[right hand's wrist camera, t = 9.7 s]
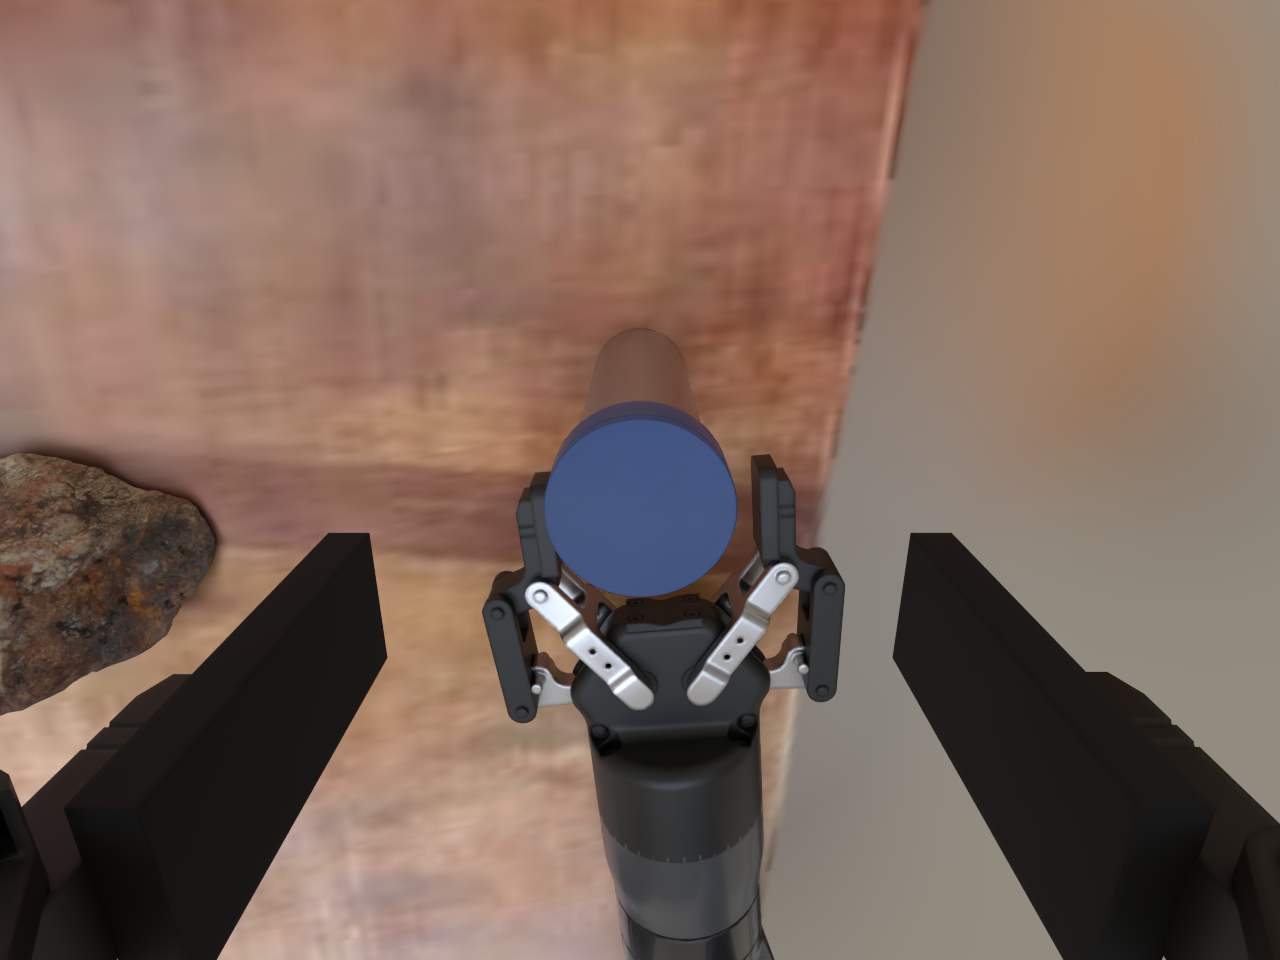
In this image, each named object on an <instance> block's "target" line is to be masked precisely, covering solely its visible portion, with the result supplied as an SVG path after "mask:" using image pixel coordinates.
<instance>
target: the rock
mask: <svg viewBox="0 0 1280 960" xmlns="http://www.w3.org/2000/svg"><path fill="white" fill-rule="evenodd" d="M214 550H215V539H214V536H213V534H212V532H211V530H210V528H209V526H208V524H207V523H206V521H205V519H204V518H203V517H202V516H201V515H200V513H199V511H198V509H197V508H196V507H195V506H194V505H193V504H192V503H191V502H190V501H188V500H186V499H184V498H180V497H175V496H172V495H168V494H165V493H162V492H160V491H156V490H150V491H146V490H143V489H141V488H135V487H133V486H131V485H130V484H128V483H126V482H124V481H122V480H120V479H118V478H116V477H114V476H111V475H109V474H106V473H104V471H103V469H100V468H96V467H89V466H86V465H82V464H76V463H72V462H71V461H67V460H64V459H61V458H58V457H47V456H41V455H37V454H32V453H29V454H25V453H20V452H17V453H14V454H12V455H10V456H7V457H5V458H2V459H0V716H1V715H3V714H6V713H9V712H15V711H21V710H24V709H26V708H28V707H30V706H31V705H33V704H35V703H38V702H40V701H42V700H44V699H46V698H49V697H51V696H53V695H55V694H57V693H59V692H61V691H63V690H64V689H66V688H67V687H68V686H69V685H71V684H72V683H73V682H75V681H76V680H78V679H79V678H81V677H83V676H86V675H88V674H89V673H91V672H92V671H93V672H97V671H100V670H102V669H104V668H106V667H108V666H110V665H114V664H117V663H120V662H123V661H126V660H128V659H131V658H133V657H135V656H137V655H139V654H141V653H143V652H144V651H146V650H148V649H149V648H151V647H152V646H154V645H155V644H156V643H157V642H158V641H159V640H161V639H162V638H163V637H165V636H166V635H167V634H168V632H169V630H170V628H171V626H172V621H173V618H174V617H175V616H176V615H177V613H178V611H179V610H180V608H181V603H182V602H183V601H185V600H186V599H187V598H188V597H190V596H191V595H192V594H193V593H194V592H195V591H196V589H197V588H198V586H199V584H200V582H201V581H202V579H203V577H204V575H205V573H206V571H207V570H208V568H209V566H210V564H211V562H212V560H213V558H214Z"/></svg>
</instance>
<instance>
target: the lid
mask: <svg viewBox="0 0 1280 960" xmlns="http://www.w3.org/2000/svg"><path fill="white" fill-rule="evenodd" d="M544 519H545V525H546V529H547V532H548V535H549V538H550V540H551V543H552V545H553V547H554V549H555V550H556V552H557V553H558V555H559V556H560V558H561V559H562V560H563V562H564V563H565V564H566V565H567V566H568V567H569V568H570V569H571V570H572V571H573V572H574V573H575V574H576V575H577V576H579V577H580V578H582V579H583V580H585V581H586V582H587V583H589V584H591V585H593V586H595V587H597V588H599V589H602V590H604V591H607V592H610V593H614V594H618V595H623V596H630V597H650V596H658V595H663V594H667V593H671V592H674V591H677V590H679V589H682V588H684V587H686V586H688V585H690V584H692V583H693V582H695V581H696V580H698V579H699V578H701V577H702V576H703V575H704V574H706V573H707V572H708V571H709V570H710V569H711V568H712V567H713V566H714V565H715V564H716V563H717V562H718V560H719V559H720V558H721V556H722V555H723V553H724V552H725V550H726V548H727V546H728V545H729V543H730V540H731V538H732V535H733V532H734V529H735V524H736V520H737V496H736V491H735V486H734V483H733V480H732V477H731V474H730V471H729V468H728V465H727V462H726V460H725V457H724V454H723V452H722V450H721V448H720V446H719V444H718V442H717V441H716V440H715V438H714V437H713V435H712V434H711V433H710V432H709V431H708V430H707V429H706V427H705V426H704V425H703V424H701V423H700V422H699V421H698V420H696V419H695V418H694V417H692V416H691V415H689V414H687V413H686V412H684V411H682V410H679V409H677V408H675V407H672V406H669V405H666V404H662V403H657V402H650V401H632V402H623V403H619V404H615V405H611V406H609V407H606V408H604V409H601V410H599V411H597V412H595V413H594V414H592V415H590V416H589V417H587V418H586V419H585V420H583V421H582V422H581V423H580V424H579V425H577V426H576V427H575V428H574V429H573V430H572V432H571V433H570V434H569V435H568V437H567V438H566V439H565V441H564V442H563V444H562V446H561V447H560V449H559V452H558V454H557V457H556V459H555V462H554V465H553V468H552V471H551V474H550V477H549V479H548V483H547V487H546V490H545V497H544Z"/></svg>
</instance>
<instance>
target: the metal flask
mask: <svg viewBox="0 0 1280 960" xmlns="http://www.w3.org/2000/svg"><path fill="white" fill-rule="evenodd" d="M632 401H650V402H657V403H662V404H666V405H669V406H672V407H675V408H677V409H679V410H682V411H684V412H686V413H687V414H689V415H691V416H692V417H694V418H695V419H696V420H698V421H699V422H700V419H699V415H698V412H697V409H696V405H695V402H694V398H693V395H692V391H691V388H690V384H689V381H688V377H687V374H686V370H685V367H684V363H683V360H682V357H681V354H680V353H679V351H678V349H677V348H676V346H675V345H674V344H673V343H672V342H671V341H670V340H669V339H668V338H667V337H665V336H664V335H662V334H660V333H658V332H656V331H652V330H648V329H632V330H628V331H625V332H623V333H620V334H619V335H617V336H615V337H614V338H613V339H611V340H610V341H609V342H608V343H607V344H606V346H605V347H604V348H603V350H602V352H601V353H600V356H599V358H598V361H597V365H596V368H595V372H594V376H593V379H592V383H591V386H590V390H589V393H588V397H587V400H586V404H585V407H584V411H583V415H582V418H581V422H582V421H583V420H585V419H586V418H587V417H589V416H590V415H592V414H594V413H595V412H597V411H599V410H601V409H604V408H606V407H609V406H611V405H615V404H619V403H623V402H632ZM581 422H580V423H581ZM700 423H701V422H700Z"/></svg>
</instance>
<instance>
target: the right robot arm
mask: <svg viewBox="0 0 1280 960" xmlns="http://www.w3.org/2000/svg"><path fill="white" fill-rule="evenodd" d="M386 659H387V652H386V645H385V638H384V631H383V624H382V617H381V610H380V603H379V596H378V590H377V583H376V576H375V569H374V562H373V555H372V548H371V541H370V534H369V533H328V534H327V535H326V536H325V537H324V538H323V539H322V540H321V541H320V542H319V543H318V544H317V545H316V546H315V547H314V548H313V550H312V551H311V552H310V553H309V554H308V555H307V556H306V557H305V558H304V559H303V560H302V561H301V562H300V563H299V564H298V565H297V566H296V567H295V568H294V569H293V570H292V571H291V572H290V573H289V574H288V575H287V576H286V577H285V578H284V580H283V581H282V582H281V583H280V584H279V585H278V586H277V587H276V588H275V589H274V590H273V591H272V592H271V593H270V594H269V595H268V596H267V597H266V598H265V599H264V600H263V601H262V602H261V603H260V604H259V605H258V606H257V607H256V608H255V610H254V611H253V612H252V613H251V614H250V615H249V616H248V617H247V618H246V619H245V620H244V621H243V622H242V623H241V624H240V625H239V626H238V627H237V628H236V629H235V630H234V631H233V632H232V633H231V634H230V635H229V636H228V637H227V638H226V639H225V641H224V642H223V643H222V644H221V645H220V646H219V647H218V648H217V649H216V650H215V651H214V652H213V653H212V654H211V655H210V656H209V657H208V658H207V659H206V660H205V661H204V662H203V663H202V664H201V665H200V666H199V667H198V668H197V669H196V671H195V672H194V673H193V674H173V675H171V676H170V677H168V678H166V679H165V680H163V681H161V682H160V683H158V684H156V685H155V686H153V687H151V688H150V689H148V690H146V691H145V692H143V693H141V694H140V695H138V696H136V697H135V698H134V699H133V700H132V701H131V702H130V703H129V704H128V705H127V706H126V707H125V708H124V709H123V710H122V711H121V712H120V713H119V714H118V715H117V716H116V717H115V718H114V719H113V720H111V721H110V725H109V727H104V728H103V729H102V730H101V731H100V732H99V733H98V734H97V735H96V736H95V737H94V738H93V739H92V740H91V741H90V742H89V743H88V744H87V748H86V750H80V751H79V752H78V753H77V754H76V755H75V756H74V757H73V758H72V759H71V760H70V761H69V762H68V763H67V764H66V765H65V766H64V767H63V768H62V769H61V770H60V771H59V772H58V773H57V774H55V775H54V776H53V777H52V778H51V779H50V780H49V781H48V782H47V783H46V784H45V785H44V786H43V787H42V788H41V789H40V790H39V791H38V792H37V793H36V794H35V795H34V796H33V797H32V798H31V799H30V800H29V801H27V802H26V803H25V804H24V805H23V806H22V807H21V805H20V802H19V800H18V797H17V794H16V792H15V789H14V787H13V784H12V782H11V779H10V776H9V774H7V773H5V772H4V771H2V770H0V960H117V958H118V960H217V958H218V956H219V955H220V953H221V951H222V949H223V948H224V946H225V944H226V942H227V940H228V939H229V937H230V935H231V933H232V932H233V930H234V928H235V926H236V925H237V923H238V921H239V919H240V917H241V916H242V914H243V912H244V910H245V909H246V907H247V905H248V903H249V902H250V900H251V898H252V896H253V894H254V893H255V891H256V889H257V887H258V886H259V884H260V882H261V880H262V879H263V877H264V875H265V873H266V871H267V870H268V868H269V866H270V864H271V863H272V861H273V859H274V857H275V856H276V854H277V852H278V850H279V848H280V847H281V845H282V843H283V841H284V840H285V838H286V836H287V834H288V833H289V831H290V829H291V827H292V825H293V824H294V822H295V820H296V818H297V817H298V815H299V813H300V811H301V810H302V808H303V806H304V804H305V802H306V801H307V799H308V797H309V795H310V794H311V792H312V790H313V788H314V787H315V785H316V783H317V781H318V779H319V778H320V776H321V774H322V772H323V771H324V769H325V767H326V765H327V764H328V762H329V760H330V758H331V757H332V755H333V753H334V751H335V749H336V748H337V746H338V744H339V742H340V741H341V739H342V737H343V735H344V734H345V732H346V730H347V728H348V726H349V725H350V723H351V721H352V719H353V718H354V716H355V714H356V712H357V711H358V709H359V707H360V705H361V703H362V702H363V700H364V698H365V696H366V695H367V693H368V691H369V689H370V688H371V686H372V684H373V682H374V680H375V679H376V677H377V675H378V673H379V672H380V670H381V668H382V666H383V665H384V663H385V661H386ZM893 659H894V661H895V663H896V664H897V666H898V668H899V670H900V672H901V673H902V675H903V677H904V679H905V680H906V682H907V684H908V686H909V687H910V689H911V691H912V693H913V695H914V696H915V698H916V700H917V702H918V703H919V705H920V707H921V709H922V711H923V712H924V714H925V716H926V718H927V719H928V721H929V723H930V725H931V726H932V728H933V730H934V732H935V733H936V735H937V737H938V739H939V741H940V742H941V744H942V746H943V748H944V749H945V751H946V753H947V755H948V757H949V758H950V760H951V762H952V764H953V765H954V767H955V769H956V771H957V772H958V774H959V776H960V778H961V779H962V781H963V783H964V785H965V787H966V788H967V790H968V792H969V794H970V795H971V797H972V799H973V801H974V802H975V804H976V806H977V808H978V810H979V811H980V813H981V815H982V816H983V818H984V820H985V822H986V824H987V825H988V827H989V829H990V831H991V833H992V834H993V836H994V838H995V840H996V841H997V843H998V845H999V847H1000V848H1001V850H1002V852H1003V854H1004V856H1005V857H1006V859H1007V861H1008V863H1009V864H1010V866H1011V868H1012V870H1013V871H1014V873H1015V875H1016V877H1017V879H1018V880H1019V882H1020V884H1021V886H1022V887H1023V889H1024V891H1025V893H1026V894H1027V896H1028V898H1029V900H1030V901H1031V903H1032V905H1033V907H1034V909H1035V910H1036V912H1037V914H1038V916H1039V917H1040V919H1041V921H1042V923H1043V925H1044V926H1045V928H1046V930H1047V932H1048V933H1049V935H1050V937H1051V939H1052V940H1053V942H1054V944H1055V946H1056V947H1057V949H1058V951H1059V953H1060V955H1061V956H1062V958H1063V960H1162V958H1163V956H1164V957H1165V959H1166V960H1280V824H1279V823H1278V822H1277V821H1276V820H1275V819H1274V818H1273V817H1272V816H1271V815H1270V814H1269V813H1268V812H1267V811H1266V810H1265V809H1264V808H1263V807H1262V806H1261V805H1260V804H1259V803H1258V802H1256V801H1255V800H1254V799H1253V798H1252V797H1251V796H1250V795H1249V794H1248V793H1247V792H1246V791H1245V790H1244V789H1243V788H1242V787H1241V786H1240V785H1239V784H1238V783H1237V782H1236V781H1235V780H1233V779H1232V778H1231V777H1230V776H1229V775H1228V774H1227V773H1226V772H1225V771H1224V770H1223V769H1222V768H1221V767H1220V766H1219V765H1218V764H1217V763H1216V762H1215V761H1214V760H1213V759H1212V758H1211V757H1210V756H1208V755H1207V754H1206V753H1205V752H1204V751H1203V750H1202V749H1201V748H1200V747H1195V746H1194V741H1193V740H1192V739H1191V738H1190V737H1189V736H1188V735H1187V734H1186V733H1184V732H1183V731H1182V730H1181V729H1180V728H1179V727H1178V726H1177V725H1172V723H1171V719H1170V718H1169V717H1168V716H1167V715H1166V714H1165V713H1164V712H1163V711H1161V710H1160V709H1159V708H1158V707H1157V706H1156V705H1155V704H1154V703H1153V702H1152V701H1151V700H1150V699H1149V698H1148V697H1147V696H1146V695H1145V694H1143V693H1142V692H1140V691H1138V690H1137V689H1135V688H1133V687H1132V686H1130V685H1128V684H1127V683H1125V682H1123V681H1122V680H1120V679H1118V678H1117V677H1115V676H1113V675H1112V674H1110V673H1108V672H1085V671H1084V669H1083V668H1082V667H1081V666H1080V665H1079V664H1078V663H1077V662H1076V661H1075V660H1074V659H1073V658H1072V657H1071V656H1070V655H1069V654H1068V653H1067V652H1066V651H1065V650H1064V649H1063V648H1062V647H1061V646H1060V645H1059V644H1058V643H1057V642H1056V641H1055V640H1054V639H1053V637H1052V636H1051V635H1050V634H1049V633H1048V632H1047V631H1046V630H1045V629H1044V628H1043V627H1042V626H1041V625H1040V624H1039V623H1038V622H1037V621H1036V620H1035V619H1034V618H1033V617H1032V616H1031V615H1030V614H1029V613H1028V612H1027V611H1026V610H1025V609H1024V607H1023V606H1022V605H1021V604H1020V603H1019V602H1018V601H1017V600H1016V599H1015V598H1014V597H1013V596H1012V595H1011V594H1010V593H1009V592H1008V591H1007V590H1006V589H1005V588H1004V587H1003V586H1002V585H1001V584H1000V583H999V582H998V581H997V580H996V578H995V577H994V576H993V575H992V574H991V573H990V572H989V571H988V570H987V569H986V568H985V567H984V566H983V565H982V564H981V563H980V562H979V561H978V560H977V559H976V558H975V557H974V556H973V555H972V554H971V553H970V552H969V551H968V550H967V549H966V547H965V546H964V545H963V544H962V543H961V542H960V541H959V540H958V539H957V538H956V537H955V536H954V535H953V534H952V533H911V534H910V541H909V548H908V555H907V562H906V569H905V576H904V583H903V589H902V596H901V603H900V610H899V617H898V624H897V631H896V638H895V645H894V652H893Z"/></svg>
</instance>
